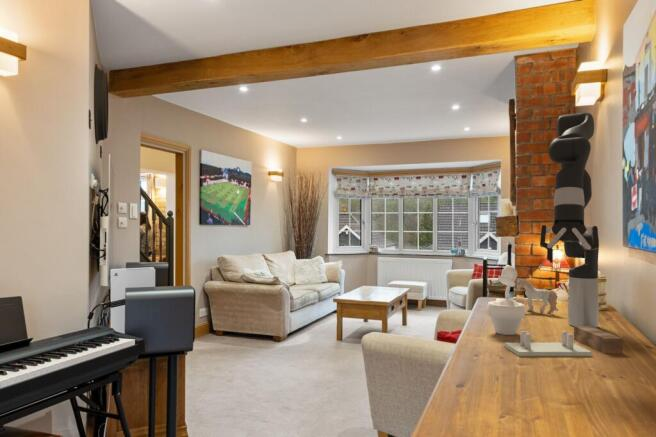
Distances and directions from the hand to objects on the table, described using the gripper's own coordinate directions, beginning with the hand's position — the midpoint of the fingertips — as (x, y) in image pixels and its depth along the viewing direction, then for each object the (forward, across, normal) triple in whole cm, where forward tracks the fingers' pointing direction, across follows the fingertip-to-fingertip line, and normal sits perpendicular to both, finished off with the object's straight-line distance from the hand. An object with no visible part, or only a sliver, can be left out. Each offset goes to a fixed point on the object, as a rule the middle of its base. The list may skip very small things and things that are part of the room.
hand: (568, 263), depth 127 cm
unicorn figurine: (+11, +10, -71) cm, 72 cm away
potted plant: (+20, +17, -27) cm, 38 cm away
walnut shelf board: (+21, -9, -22) cm, 32 cm away
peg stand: (+24, +5, -9) cm, 26 cm away
